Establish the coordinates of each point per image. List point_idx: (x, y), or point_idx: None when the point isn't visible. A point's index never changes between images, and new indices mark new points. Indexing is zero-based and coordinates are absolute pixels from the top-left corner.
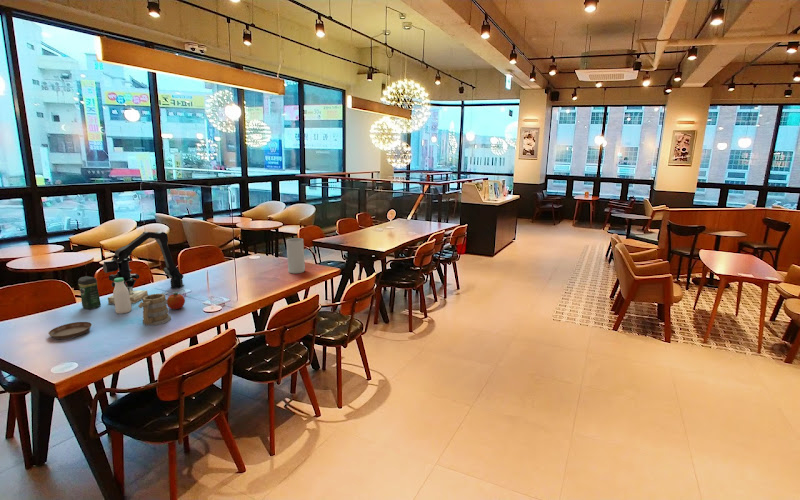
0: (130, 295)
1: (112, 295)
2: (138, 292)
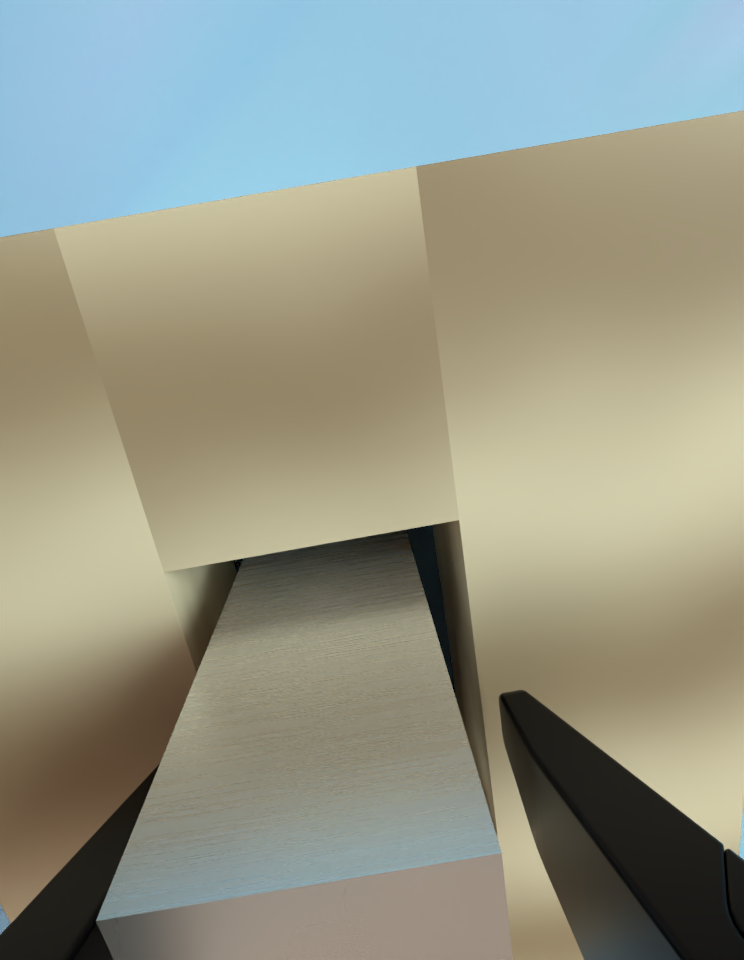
0: None
1: (24, 236)
2: (540, 885)
